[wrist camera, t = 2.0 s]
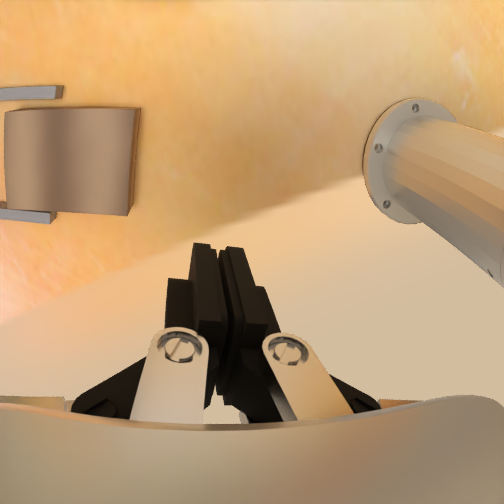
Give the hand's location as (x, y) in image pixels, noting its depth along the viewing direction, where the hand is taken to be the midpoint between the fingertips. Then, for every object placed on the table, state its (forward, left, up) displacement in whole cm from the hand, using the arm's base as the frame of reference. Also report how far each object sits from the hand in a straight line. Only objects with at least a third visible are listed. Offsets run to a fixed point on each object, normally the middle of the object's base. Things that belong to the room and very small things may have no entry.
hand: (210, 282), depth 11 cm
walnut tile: (+11, 0, -17) cm, 20 cm away
